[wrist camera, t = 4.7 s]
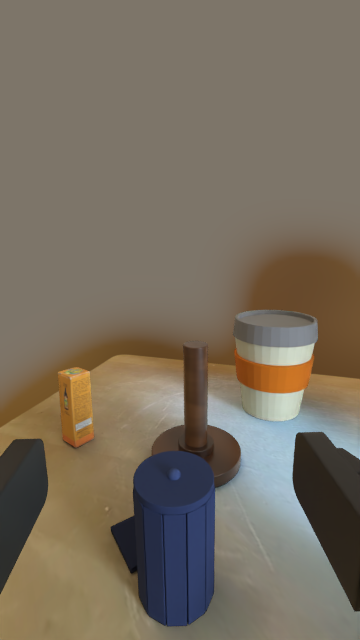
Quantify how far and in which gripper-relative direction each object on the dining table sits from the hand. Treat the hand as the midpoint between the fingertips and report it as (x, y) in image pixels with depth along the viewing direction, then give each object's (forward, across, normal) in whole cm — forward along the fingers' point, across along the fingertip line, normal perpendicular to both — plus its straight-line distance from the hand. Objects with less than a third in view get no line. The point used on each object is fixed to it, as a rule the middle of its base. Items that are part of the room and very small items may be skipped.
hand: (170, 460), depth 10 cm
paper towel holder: (+27, -3, +19) cm, 33 cm away
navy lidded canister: (+13, +1, +19) cm, 24 cm away
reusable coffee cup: (+39, -16, +20) cm, 46 cm away
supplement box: (+32, +13, +20) cm, 39 cm away
